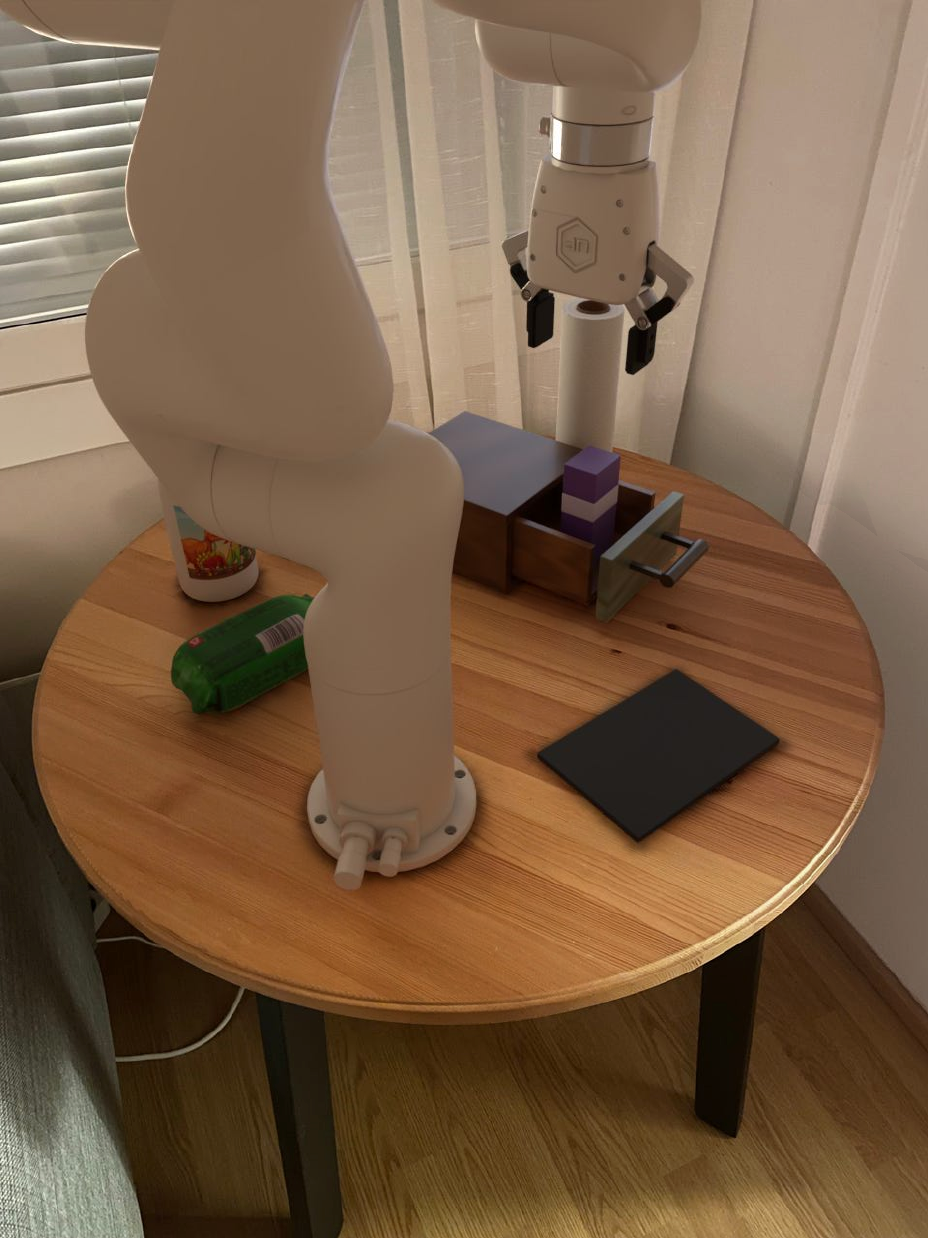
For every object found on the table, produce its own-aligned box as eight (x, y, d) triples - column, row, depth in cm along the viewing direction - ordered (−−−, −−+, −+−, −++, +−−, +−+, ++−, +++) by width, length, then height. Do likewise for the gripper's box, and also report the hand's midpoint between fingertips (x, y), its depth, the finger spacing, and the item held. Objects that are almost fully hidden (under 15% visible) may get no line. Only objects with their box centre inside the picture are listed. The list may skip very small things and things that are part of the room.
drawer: (718, 569, 97) (728, 508, 93) (650, 641, 89) (658, 578, 85) (552, 509, 107) (554, 451, 102) (476, 569, 98) (476, 508, 94)
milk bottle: (166, 598, 97) (119, 408, 84) (201, 554, 102) (162, 370, 90) (240, 609, 95) (204, 416, 83) (271, 564, 101) (242, 377, 89)
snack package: (359, 654, 90) (355, 607, 87) (205, 736, 82) (193, 688, 78) (314, 618, 94) (308, 572, 91) (163, 693, 86) (150, 646, 83)
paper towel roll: (595, 515, 107) (610, 321, 94) (543, 502, 110) (551, 310, 96) (620, 485, 112) (638, 296, 99) (571, 472, 114) (582, 286, 101)
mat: (638, 843, 72) (638, 838, 72) (536, 757, 79) (537, 752, 79) (779, 744, 80) (780, 738, 80) (675, 673, 87) (676, 668, 87)
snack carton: (582, 539, 100) (589, 444, 93) (612, 550, 98) (621, 455, 92) (558, 559, 97) (563, 464, 91) (589, 571, 95) (596, 475, 89)
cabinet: (586, 525, 106) (591, 451, 100) (505, 594, 96) (506, 515, 91) (466, 481, 113) (464, 410, 108) (380, 541, 104) (374, 466, 99)
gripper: (479, 136, 78) (480, 347, 88) (682, 168, 69) (657, 396, 80) (532, 117, 82) (527, 320, 93) (728, 145, 74) (699, 364, 85)
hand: (587, 355), depth 87 cm, fingers open, 9 cm apart
